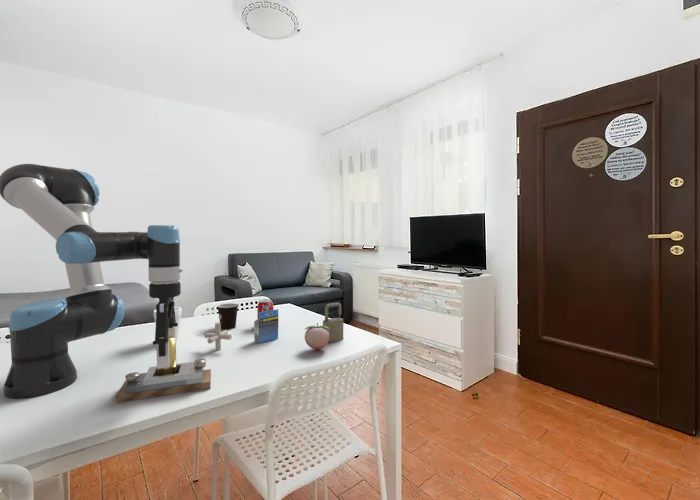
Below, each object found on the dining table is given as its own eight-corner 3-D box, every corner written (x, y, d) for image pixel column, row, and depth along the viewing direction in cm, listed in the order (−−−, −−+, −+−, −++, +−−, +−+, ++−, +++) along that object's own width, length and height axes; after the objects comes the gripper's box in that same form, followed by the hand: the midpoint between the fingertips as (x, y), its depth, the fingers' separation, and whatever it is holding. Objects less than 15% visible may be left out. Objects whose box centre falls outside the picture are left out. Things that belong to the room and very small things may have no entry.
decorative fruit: (306, 355, 118) (306, 327, 118) (303, 347, 126) (303, 321, 126) (332, 353, 121) (332, 325, 120) (327, 345, 129) (327, 319, 128)
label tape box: (273, 336, 139) (273, 307, 138) (278, 339, 136) (278, 309, 135) (254, 341, 133) (253, 310, 132) (259, 344, 130) (259, 312, 129)
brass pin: (156, 385, 91) (155, 341, 90) (159, 378, 95) (158, 336, 94) (175, 383, 92) (174, 340, 91) (177, 376, 96) (176, 335, 96)
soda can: (276, 326, 154) (276, 300, 153) (265, 329, 148) (265, 303, 147) (265, 323, 158) (265, 298, 157) (254, 327, 152) (253, 301, 151)
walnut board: (116, 403, 85) (116, 395, 85) (125, 387, 94) (125, 380, 94) (210, 388, 93) (210, 381, 93) (210, 375, 102) (210, 369, 102)
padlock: (344, 339, 136) (344, 303, 135) (326, 343, 131) (326, 305, 130) (339, 337, 139) (339, 301, 138) (321, 340, 135) (321, 303, 134)
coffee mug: (218, 325, 154) (218, 304, 154) (238, 324, 157) (238, 302, 156) (216, 333, 143) (216, 309, 142) (237, 331, 146) (237, 308, 145)
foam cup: (186, 338, 136) (185, 306, 135) (175, 346, 126) (174, 312, 126) (162, 338, 135) (161, 306, 134) (149, 346, 126) (148, 312, 125)
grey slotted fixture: (121, 394, 86) (121, 376, 86) (130, 380, 94) (129, 363, 94) (205, 382, 93) (205, 365, 93) (206, 369, 101) (206, 354, 101)
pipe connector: (222, 355, 117) (222, 327, 117) (197, 353, 119) (196, 325, 119) (237, 346, 127) (237, 320, 127) (214, 344, 129) (213, 318, 129)
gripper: (174, 288, 81) (176, 374, 83) (184, 275, 105) (186, 342, 106) (138, 290, 79) (141, 378, 80) (157, 276, 102) (159, 345, 103)
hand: (167, 358), depth 93 cm, fingers open, 13 cm apart
